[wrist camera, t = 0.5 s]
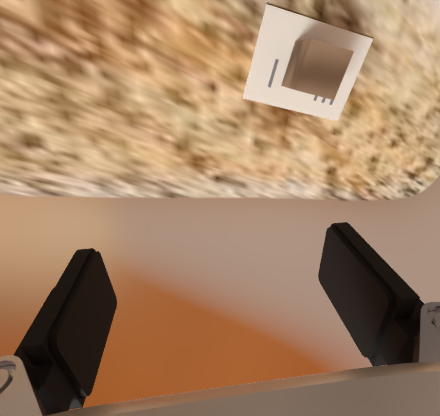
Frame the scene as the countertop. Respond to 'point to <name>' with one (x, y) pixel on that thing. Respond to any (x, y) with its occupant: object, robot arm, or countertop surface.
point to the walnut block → (316, 68)
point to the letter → (280, 54)
